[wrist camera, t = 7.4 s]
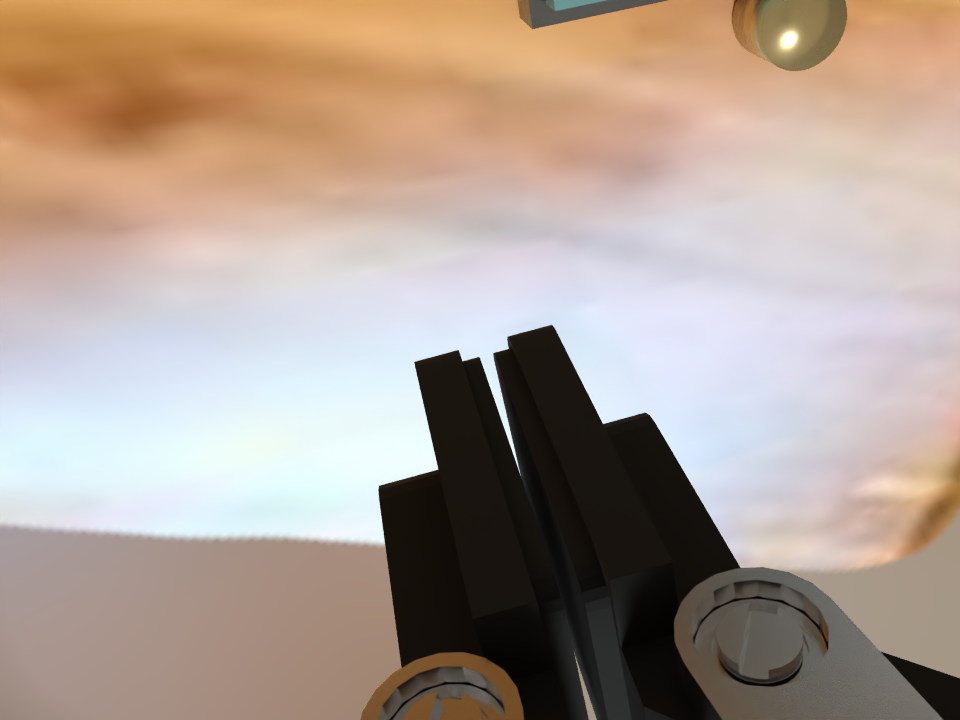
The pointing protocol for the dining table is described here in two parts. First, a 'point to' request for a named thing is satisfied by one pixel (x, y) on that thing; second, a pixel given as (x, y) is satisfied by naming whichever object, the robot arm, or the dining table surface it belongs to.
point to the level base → (740, 25)
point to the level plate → (568, 3)
